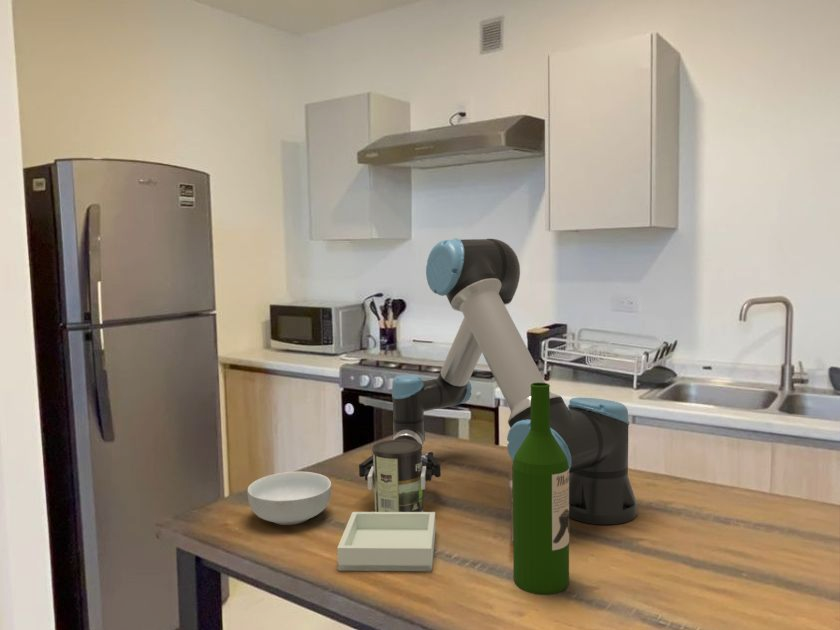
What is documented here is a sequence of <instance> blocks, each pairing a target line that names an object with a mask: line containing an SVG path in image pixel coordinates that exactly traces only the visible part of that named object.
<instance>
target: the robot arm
mask: <svg viewBox="0 0 840 630" xmlns="http://www.w3.org/2000/svg"><path fill="white" fill-rule="evenodd" d="M426 261H427V262H426V266H425V277H426V280H427V284H428V286H429V289H430V290H431V291H432V292H433V293H434V294H437V295H438V296H442V297H443V296H446V298H447V301H448V302H449V304H450V306H451V308H452V309H453V310H454V311H458V312H460V313H462V315H463V319H462V321H461V323H460V326H459V328H458V331H457V333H456V335H455V337H454V340H453V342H452V344H451V347H450V349H449V351H448V353H447V356H446V357H445V360H444V363H443V364H442V367H441V370H440V371H439V374H438V377H436V378H433V379H428V380H424V379H423V377H422V376H421V375H418V374H400V375H398V376H395V377H394V378H393V379H392V385H391V386H392V388H391V397H392V411H393V412H392V413H393V419H392V424H393V425H392V430H393V431H392V432H393V436H392V439H391V440H412V441H416V442H419V443H421V444H422V447H423V445H424V442H425V441H426V434H425V433H426V431H425V429H424V427H425V426H424V425H425V424H424V421H425V420H424V419H425V418H424V417H425V415H424V414H425V412H428V411H433V410H437V409H444V408H449V407H455V406H459V405H461V404H464V403H467V402H468V401H469V400H470V399H471V396H472V390H473V389H472V384H471V381H470V378H471V376H472V375H473V372H474V371H475V369H476V366H477V363H478V362H479V359H480V357H481V355H482V356H483V357H484V359H485V361H486V364H487V365H488V367H489V370H490V372H491V374H492V376H493V378H494V380H495V382H496V384H497V385H498V388H499V389H500V392H501V394H502V396H503V398H504V400H505V402H506V404H507V407H508V408H509V411H510V414H509V417H508V420H507V424H508V426H509V427H510V429H509V430H508V433H507V435H506V436H507V437H506V438H507V439H506V440H507V441H508V443H507V445H506V447H507V451H508V454H509V457H510V460H511V461H512V462H513V461H514V457H515V454H516V452H517V451H518V449H519V448H520V446H521V445H522V443H523V441H524V440H525V438H526V437H527V435H528V434H529V431H530V422H531V386H530V385H531V384H532V383H546V382H545V379H544V377H543V376H542V374H541V372H540V370H539V368H538V366H537V364H536V362H535V361H534V358H533V356H532V354H531V352H530V351H529V349H528V347H527V345H526V343H525V341H524V340H523V337H522V335H521V333H520V331H519V330H518V327H517V325H516V324H515V322H514V320H513V318H512V316H511V315H510V313H509V311H508V309H507V307H506V305H509V304H511V302H512V300H513V298H514V296H515V295H516V292H517V289H518V286H519V282H520V279H521V278H520V276H521V266H520V262H519V259H518V255H517V254H516V252H515V251H514V249H513V248H512V247H511V246H510V245H509V244H508V243H506V242H504V241H503V240H499V239H497V238H496V239H495V238H484V239H483V238H481V239H480V238H477V239H475V238H473V239H467V238H466V239H460V238H453V239H444V240H440V241H439V242H438V243H436V244H434V246H433V248H432V249H431V251H430V252H429V254H428V257H427V260H426ZM549 393H550V430H551V432H552V435H553V436H554V438H555V439H556V441H557V442H558V444H559V446H560V447H561V449H562V450H563V452H564V453H565V455H566V457H567V461H568V465H569V519H572V520H574V521H579V522H582V523H585V524H586V523H587V524H593V525H601V526H602V525H618V524H619V525H620V524H624V523H628V522H630V521H632V520H634V519H635V518H636V516H637V515H638V505H637V499H636V497H635V493H634V490H633V487H632V484H631V481H630V478H629V425H630V421H629V411H628V408H627V406H626V405H624V404H623V403H621V402H619V401H614V400H610V399H609V400H608V399H603V398H595V397H572V398H570V400H569V401H568V402H569V403H568V404H566V403H565V401H564V399H563V397H562V395H558V394H556V393H553V392H551V391H550V390H549ZM567 405H568V406H567ZM358 476H359V477H360V478H363V477H364V480H365V481H367V490H369V491H370V490H373V488H374V468H373V453H372V455H370V456H369V457H368V458H366V459H365V460H363V461H362V462H361V463H359V465H358ZM433 476H434V477H435V478H440V477H441V476H442V475H441V463H440V462H439V461H438V460H437V459H436V458H435V456H434V452H433V451H430V452H428V453H426V454H425V455H422V472H421V490H425V489H426V485H427V483H426V482H428V481H429V482H431V481H432V478H433Z"/></svg>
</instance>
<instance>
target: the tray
mask: <svg viewBox="0 0 840 630" xmlns="http://www.w3.org/2000/svg"><path fill="white" fill-rule="evenodd" d="M351 512H352V513H351V514H350V517H349V519H348V521H347V524H346V526H345V528H344V531H343V534H342V536H341V538H340V541H339V543H338V546H337V548H336V550H337V571H340V572H341V571H342V572H344V571H345V572H347V571H349V572H350V571H351V572H352V571H353V572H354V571H355V572H356V571H358V572H359V571H361V572H362V571H363V572H365V571H366V572H368V571H369V572H432V571H433V562H434V553H435V544H436V543H435V542H436V511H423V512H375V511H351Z"/></svg>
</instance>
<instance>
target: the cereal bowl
mask: <svg viewBox="0 0 840 630" xmlns="http://www.w3.org/2000/svg"><path fill="white" fill-rule="evenodd" d="M246 493H247V500H248V505H249V507H250V510H251V511H252V512H253V513H254V514H255V515H256V516H257V517H258V518H259V519H262V520H264V521H267V522H271V523H275V524H277V525H281V526H291V525H298V524H302V523H304V522H307V521H308V520H309V519H312V518H315V516H317V515H319V514H320V513H322V512H323V511H324V510H325V509H326V508H327V506H328V505H329V503H330V501H331V500H330V499H331V496H332V481H331V479H329V477H327V476H325V475H324V474H320V473H316V472H311V471H285V472H279V473H274V474H269V475H266V476H263V477H261V478H258V479H256V480H255V481H252V482H251V484H249V485H248V487H247V491H246Z"/></svg>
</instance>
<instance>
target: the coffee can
mask: <svg viewBox="0 0 840 630" xmlns="http://www.w3.org/2000/svg"><path fill="white" fill-rule="evenodd" d="M422 450H423V446H422V444H421V443H419V442H416V441H412V440H392V439H389V440H388V439H387V440H384V441H379V442H376V443H375V444H373V445H372V447H371V451H372V454H373V468H374V485H373V493H374V494H373V495H374V512H425V511H424V497H423V495H424V493H423V492H424V491H423V490H421V472H422V456H423V453H422Z"/></svg>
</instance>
